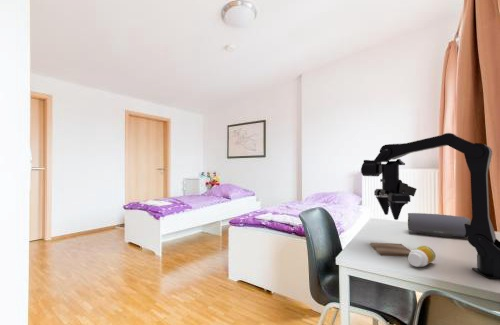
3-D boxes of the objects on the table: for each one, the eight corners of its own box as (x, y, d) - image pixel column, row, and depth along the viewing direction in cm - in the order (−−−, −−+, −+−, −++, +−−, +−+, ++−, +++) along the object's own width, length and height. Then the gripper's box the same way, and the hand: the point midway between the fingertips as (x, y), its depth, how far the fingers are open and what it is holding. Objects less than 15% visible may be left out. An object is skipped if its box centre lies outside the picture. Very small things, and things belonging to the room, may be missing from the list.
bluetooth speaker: (466, 236, 112) (466, 214, 112) (472, 242, 104) (471, 218, 104) (407, 230, 123) (407, 210, 123) (408, 234, 115) (408, 213, 115)
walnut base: (416, 258, 88) (416, 254, 88) (380, 256, 90) (380, 252, 90) (401, 247, 99) (401, 243, 99) (370, 246, 101) (370, 242, 101)
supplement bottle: (426, 242, 84) (413, 248, 78) (440, 256, 81) (428, 263, 75) (414, 250, 87) (401, 256, 81) (427, 264, 83) (415, 272, 78)
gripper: (426, 178, 84) (427, 223, 84) (401, 175, 103) (402, 212, 102) (391, 178, 86) (392, 222, 86) (373, 175, 104) (374, 212, 104)
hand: (390, 217), depth 95 cm, fingers open, 9 cm apart
